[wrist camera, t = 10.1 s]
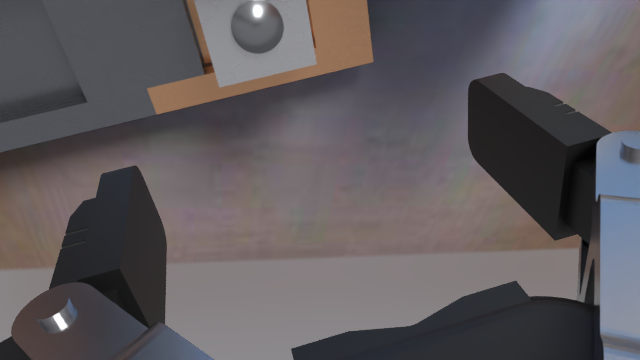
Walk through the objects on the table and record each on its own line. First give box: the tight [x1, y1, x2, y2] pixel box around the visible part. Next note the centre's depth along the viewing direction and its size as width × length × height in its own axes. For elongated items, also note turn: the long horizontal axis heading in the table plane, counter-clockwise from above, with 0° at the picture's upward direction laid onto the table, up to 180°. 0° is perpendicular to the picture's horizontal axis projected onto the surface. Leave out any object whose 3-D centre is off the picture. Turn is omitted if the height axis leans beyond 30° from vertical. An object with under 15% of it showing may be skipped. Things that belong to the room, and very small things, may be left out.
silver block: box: [194, 0, 317, 88], centre depth 24 cm, size 4×4×6 cm
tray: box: [0, 0, 373, 152], centre depth 26 cm, size 24×9×2 cm, turn 100°
